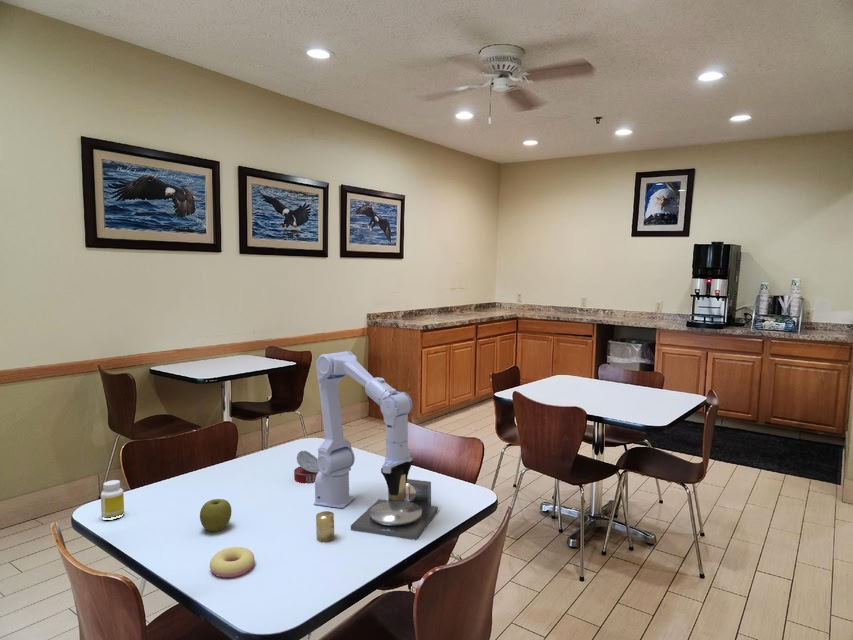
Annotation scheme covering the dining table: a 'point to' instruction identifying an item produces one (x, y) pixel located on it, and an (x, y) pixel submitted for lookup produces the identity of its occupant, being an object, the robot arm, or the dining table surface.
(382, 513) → the scale pan
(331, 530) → the cylinder
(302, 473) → the canned food
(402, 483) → the cylinder
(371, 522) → the scale
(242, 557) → the donut
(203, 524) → the apple
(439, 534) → the dining table surface
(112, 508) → the supplement bottle
